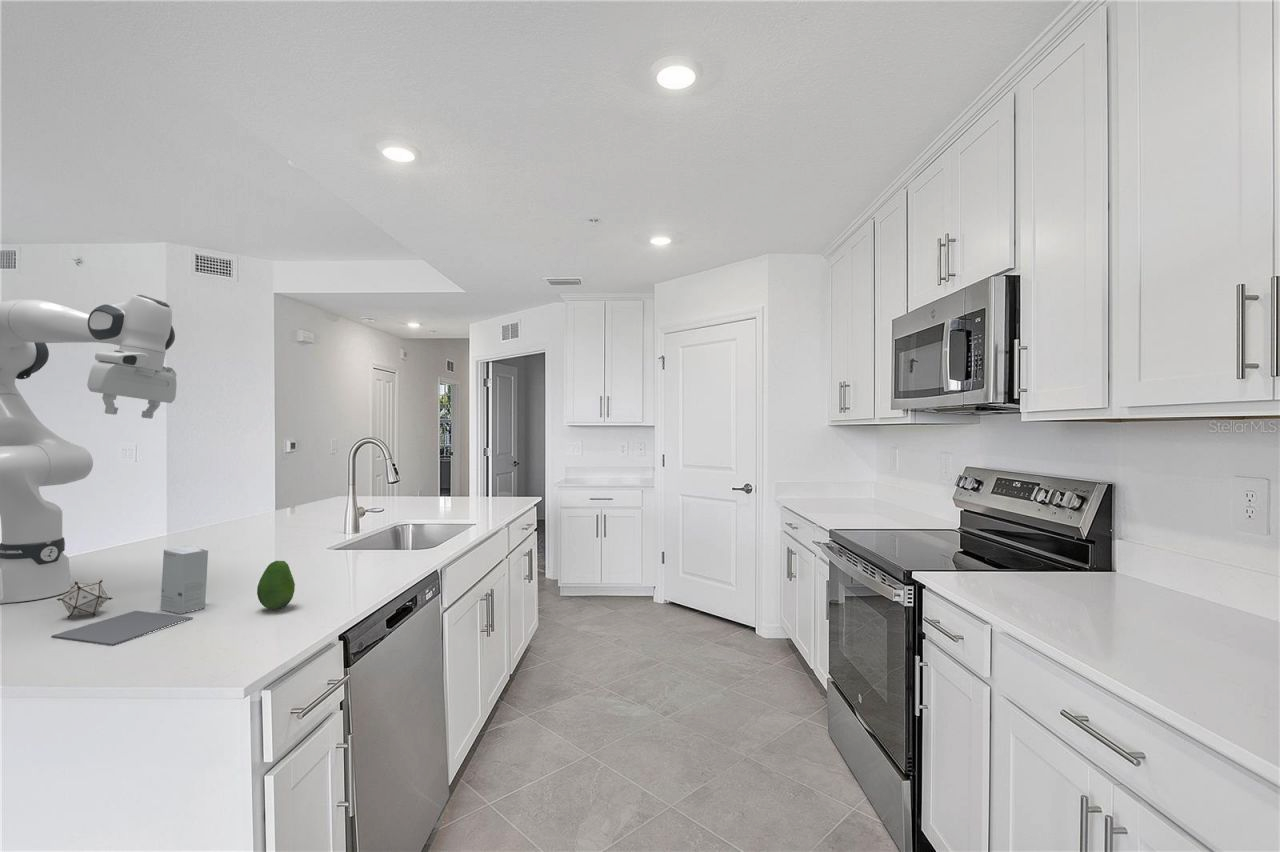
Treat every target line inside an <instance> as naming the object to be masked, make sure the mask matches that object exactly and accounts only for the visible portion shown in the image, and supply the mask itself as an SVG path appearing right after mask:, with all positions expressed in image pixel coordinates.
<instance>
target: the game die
mask: <svg viewBox="0 0 1280 852" xmlns="http://www.w3.org/2000/svg"><path fill="white" fill-rule="evenodd" d="M74 581H75V580H74ZM102 583H103V579H100V580H99V581H98V582H91V583H90V582H89V583H88V582H87V583H79V582H78V581H75V584H76V585H75V586H73V587H71V590H69V591H68V592H66V594H65V595H64V596H63V597H61V598H60V597H59V598H56V600H57V601H61V602H62V603H63V606H64V607H65V609H66V611H67V612H68V614H69V615H68V616H67V619H71V617H72V616H84V615H92V616H93V617H95V616H97V614H96V612H97V611H98V610H99V609H100V608H101V607H102V606H103V605H104V604H105V603H106V601H109V600H113V599H114V598H113V597H109V596H108V595H107V593H106V591H105V590H104V588H103V586H102Z"/></svg>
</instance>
